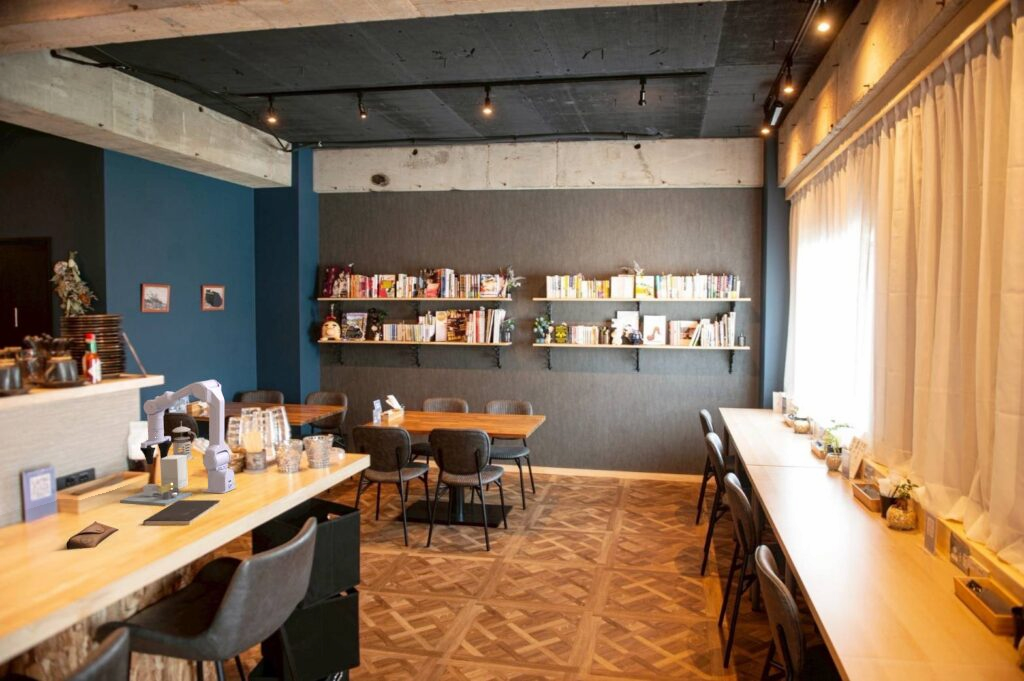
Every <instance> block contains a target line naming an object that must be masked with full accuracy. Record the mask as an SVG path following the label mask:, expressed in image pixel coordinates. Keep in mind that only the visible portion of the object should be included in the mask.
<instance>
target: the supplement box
mask: <svg viewBox="0 0 1024 681" xmlns="http://www.w3.org/2000/svg"><path fill="white" fill-rule="evenodd" d="M159 461H160V462H159V463H160V480H161V482H160V484H161V485H160V486H162V485H165V484H168V483H171V482H172V483H173V488H179V490H181V489H183V488H185V487H187V486H188V485H189V478H188V460H187V455H172V454H170V455H167V457H164V458H162V459H161V458H160V460H159Z"/></svg>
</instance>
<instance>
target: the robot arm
mask: <svg viewBox="0 0 1024 681" xmlns="http://www.w3.org/2000/svg"><path fill="white" fill-rule="evenodd" d="M188 396H194V397H195V398H197V399H198V400H200V401H202V402H204V403H206V405H208V407H209V408H208V409H209V410H208V412H209V414H208V415H209V416H208V417H209V419H208V421H209V422H208V423H209V424H208V426H209V427H208V432H209V433H208V436H209V437H208V438H209V439H208V446H207V448H205V450H204V456H203V459H202V464H203V466H204V467H205V469H206V471H207V489H204V490H202V492H203V493H212V494H213V493H214V494H215V493H216V494H225V493H228V492H230V491H232V490H235V489H237V486H235V485H236V484H235V472H234V470H233V469H232V468H228V466H229V463H230V462H231V458H232V456H231V453H230V448H229V446H228V445H226V444H225V404H226V403H225V398H224V395H223V392H222V384H220V382H218V381H217V380H216V379H208V380H203V381H195V382H193V383H190V384H188V385H186V386H184V387H182V388H180V389H179V390H177V391H175V392H174V391H169V390H168V391H167V390H166V391H164V393H163V394H162V395H160V396H159V395H157V396H155V397H154V399H148V400H146V401H145V402H144V404H143V411H144V412H145V414H146V415H147V416H146V419H147V439H148V440H147V439H146V440H145V441H143V442H140V451H141V452H142V454H143V456H144V458H145V461H146V464H147V465H153V464H154V455H155V450H156V447H153V446H155V445H157V446H158V449H159V456H160V459H162V458H164V457H167V456H169V455H168V454H169V450H170V448H171V446H173V441H172V437H171V436H170V435H166V436H165V435H164V434H165V430H164V429H165V428H164V416H165V411H166V410H167V409H169V408H171V407H173V406H175V405H177V404H178V403H179V400H181V399H183V398H186V397H188ZM155 437H156V438H155Z"/></svg>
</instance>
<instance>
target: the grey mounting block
mask: <svg viewBox="0 0 1024 681" xmlns="http://www.w3.org/2000/svg"><path fill="white" fill-rule="evenodd" d="M179 492H180V489H179V488H173V490H170V491H167V492H165V493H163V499H167V500H169V499H171V493H178V496H179Z"/></svg>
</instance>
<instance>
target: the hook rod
mask: <svg viewBox="0 0 1024 681" xmlns="http://www.w3.org/2000/svg"><path fill="white" fill-rule="evenodd" d="M158 491H159V486H158V484H156V483H147V484H145V485H142V492H143V496H148V497H153V496H156V495H158V496H163V493H162V494H160V493H159V492H158ZM171 496H172V497H177V496H178V493H171Z"/></svg>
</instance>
